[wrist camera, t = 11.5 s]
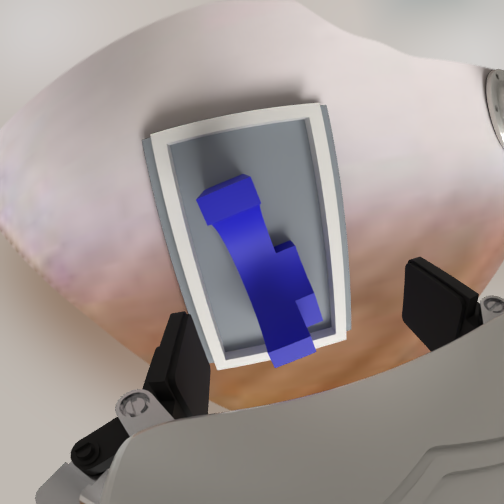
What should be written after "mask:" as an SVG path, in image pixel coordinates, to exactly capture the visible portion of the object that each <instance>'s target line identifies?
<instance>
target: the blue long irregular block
mask: <svg viewBox="0 0 504 504" xmlns="http://www.w3.org/2000/svg"><path fill="white" fill-rule="evenodd" d="M196 201H197V203H198V206H199V208H200V210H201V212H202V215H203V217H204V219H205V221H206V224H207V226H209V225H212V226H213V227H214V228H215V229H216V230H217V232H218V233H219V235H220V236H221V238H222V240H223V242H224V243H225V245H226V247H227V249H228V251H229V253H230V255H231V257H232V259H233V261H234V264H235V266H236V268H237V270H238V272H239V275H240V277H241V279H242V282H243V284H244V286H245V289H246V291H247V294H248V296H249V299H250V301H251V304H252V306H253V309H254V312H255V314H256V317H257V320H258V323H259V326H260V329H261V332H262V335H263V338H264V341H265V345H266V349H267V353H268V355H269V357H270V359H271V361H272V363H273V365H274V367H275V368H276V367H279V366H282V365H284V364H287V363H290V362H292V361H295V360H297V359H300V358H302V357H305V356H307V355H310V354H312V353H314V352H316V349H315V346H314V343H313V341H312V338H311V335H310V333H309V331H308V329H307V327H309V326H312V325H314V324H316V323H319V322H321V321H323V318H322V315H321V312H320V309H319V306H318V303H317V299H316V296H315V293H314V291H313V289H312V286H311V284H310V282H309V279H308V277H307V275H306V272H305V270H304V267H303V265H302V262H301V260H300V257H299V254H298V252H297V249H296V246H295V245H294V243H293V242H292V241H291V240H289V241H287V242H285V243H282V244H280V245H277V246H275V247H273V244H272V242H271V239H270V236H269V234H268V231H267V228H266V225H265V222H264V219H263V216H262V212H261V209H260V204H261V201H260V199H259V196H258V194H257V191H256V189H255V186H254V184H253V181H252V179H251V177H250V176H248V175H245V174H241V175H239V176H236V177H234V178H232V179H229V180H227V181H224V182H222V183H219V184H217V185H215V186H212V187H210V188H208V189H205V190H204V191H203V192H202V193H201V194H200V196H199V197H198V198H197V199H196Z"/></svg>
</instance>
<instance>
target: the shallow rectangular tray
mask: <svg viewBox="0 0 504 504" xmlns="http://www.w3.org/2000/svg"><path fill="white" fill-rule="evenodd" d="M150 136H151V137H150V138H147V139H144V140H142V143H143V149H144V153H145V158H146V163H147V168H148V172H149V177H150V181H151V185H152V190H153V194H154V198H155V202H156V206H157V210H158V214H159V218H160V221H161V225H162V229H163V232H164V236H165V240H166V243H167V247H168V250H169V254H170V257H171V260H172V264H173V267H174V270H175V273H176V277H177V280H178V283H179V286H180V289H181V292H182V295H183V298H184V301H185V304H186V307H187V310H188V313H189V314H191V316H192V319H193V322H194V324H195V327H196V330H197V333H198V335H199V338H200V341H201V343H202V346H203V349H204V351H205V354H206V357H207V359H208V362H209V363H214V362H215V365H216V367H217V370H221V369H227V368H233V367H238V366H243V365H248V364H253V363H258V362H263V361H267V360H271V359H270V357H269V355H268V353H267V349H266V345H265V341H264V338H263V335H262V332H261V329H260V326H259V323H258V320H257V317H256V314H255V312H254V309H253V306H252V304H251V301H250V299H249V296H248V294H247V291H246V289H245V286H244V284H243V282H242V279H241V277H240V275H239V272H238V270H237V268H236V266H235V264H234V261H233V259H232V257H231V255H230V253H229V251H228V249H227V247H226V245H225V243H224V242H223V240H222V238H221V236H220V235H219V233H218V232H217V230H216V229H215V228H214V227H213V226H212V225H209V226H207V224H206V221H205V219H204V217H203V215H202V212H201V210H200V208H199V206H198V203H197V201H196V199H197V198H198V197H199V196H200V194H201V193H202V192H203V191H204V190H205V189H208V188H210V187H212V186H215V185H217V184H219V183H222V182H224V181H227V180H229V179H232V178H234V177H236V176H239V175H241V174H245V175H248V176H250V177H251V179H252V181H253V184H254V186H255V189H256V191H257V194H258V196H259V199H260V201H261V204H260V209H261V212H262V216H263V219H264V222H265V225H266V228H267V231H268V234H269V236H270V239H271V242H272V244H273V247H275V246H277V245H280V244H282V243H285V242H287V241H289V240H291V241H292V242H293V243H294V245H295V246H296V249H297V252H298V254H299V257H300V260H301V262H302V265H303V267H304V270H305V272H306V275H307V277H308V279H309V282H310V284H311V286H312V289H313V291H314V293H315V296H316V299H317V303H318V306H319V309H320V312H321V315H322V318H323V321H321V322H319V323H316V324H314V325H312V326H309V327H307V329H308V331H309V333H310V335H311V338H312V341H313V343H314V346H315V349H316V348H319V347H323V346H326V345H330V344H333V343H336V342H340V341H343V340H346V331H348V330H351V297H350V275H349V259H348V246H347V234H346V224H345V215H344V206H343V198H342V190H341V183H340V176H339V170H338V163H337V157H336V151H335V146H334V140H333V135H332V130H331V125H330V120H329V115H328V110H327V106H326V105H320V103H308V104H298V105H288V106H280V107H272V108H265V109H258V110H252V111H246V112H240V113H235V114H230V115H224V116H220V117H215V118H210V119H206V120H201V121H197V122H193V123H189V124H185V125H181V126H177V127H174V128H170V129H167V130H163V131H160V132H156V133H153V134H150Z"/></svg>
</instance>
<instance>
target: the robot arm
mask: <svg viewBox="0 0 504 504" xmlns="http://www.w3.org/2000/svg"><path fill="white" fill-rule="evenodd" d="M486 94H487V103H488V108H489V113H490V117H491V120H492V124H493V127H494V130H495V132H496V135H497V137H498V139H499V141H500V143H501V145H502V147H503V148H504V71H503V70H500V69H497V70H493V71H491V72H490V73H489V74H488V78H487V83H486ZM478 296H479V294H478V293H476V292H475V291H473V290H472V289H470V288H469V287H467V286H466V285H464V284H463V283H461V282H460V281H458V280H457V279H455V278H454V277H452V276H451V275H449V274H448V273H446V272H444V271H443V270H441V269H440V268H438V267H436V266H435V265H433V264H432V263H430V262H428V261H427V260H425V259H423V258H422V257H418V258H414V259H411V260H409V261H408V264H406V266H405V285H404V299H403V311H402V318H403V321H404V323H405V324H406V325H407V326H408V327H409V328H410V329H411V330H412V331H413V332H414V333H415V334H416V335H417V337H418V338H419V339H420V340H421V341H422V342H423V343H424V344H425V345H426V346H427V347H428V349H429V350H430V351H431V352H430V353H427V354H425V355H423V356H421V357H418V358H416V359H414V360H412V361H409V362H407V363H404V364H402V365H400V366H397V367H395V368H392V369H390V370H387V371H384V372H382V373H379V374H376V375H374V376H371V377H368V378H365V379H362V380H359V381H356V382H353V383H350V384H347V385H344V386H340V387H337V388H334V389H330V390H327V391H323V392H320V393H316V394H312V395H308V396H305V397H300V398H296V399H292V400H288V401H283V402H278V403H274V404H269V405H263V406H258V407H252V408H246V409H240V410H233V411H227V412H221V413H214V414H208V402H209V386H210V365H209V362H208V359H207V357H206V354H205V351H204V349H203V346H202V343H201V341H200V338H199V335H198V333H197V330H196V327H195V324H194V322H193V319H192V316H191V314H186V312H185V311H184V312H178V313H172V314H171V315H170V318H169V320H168V323H167V326H166V329H165V332H164V335H163V338H162V341H161V344H160V347H157V348H156V350H155V353H154V356H153V358H152V361H151V364H150V368H149V370H148V373H147V376H146V380H145V383H144V386H143V389H137V390H132V391H130V392H127V393H126V394H124V395H123V396H122V397H121V398H120V399H119V400H118V402H117V404H116V407H115V411H116V414H117V416H118V417H116V418H115V419H113V420H112V421H110V422H108V423H107V424H105V425H104V426H102V427H101V428H99V429H97V430H96V431H94V432H92V433H91V434H89V435H88V436H86V437H84V438H83V439H81V440H79V441H78V442H77V443H76V444H75V445H74V447H73V448H72V451H71V460H72V461H71V462H70V463H69V464H68V463H66V462H65V463H64V464H63V465H62V466H61V467H60V468H59V469H58V470H57V471H56V472H55V473H54V474H53V475H52V476H51V477H50V478H49V479H48V480H47V481H46V482H45V483H44V484H43V485H42V486H41V487H40V488H39V490H38V491H37V493H36V497H35V499H36V504H504V299H502V298H500V297H498V296H486V297H484V298H483V299H482V300H481V301H480V304H479V303H478V302H477V301H478Z"/></svg>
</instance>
